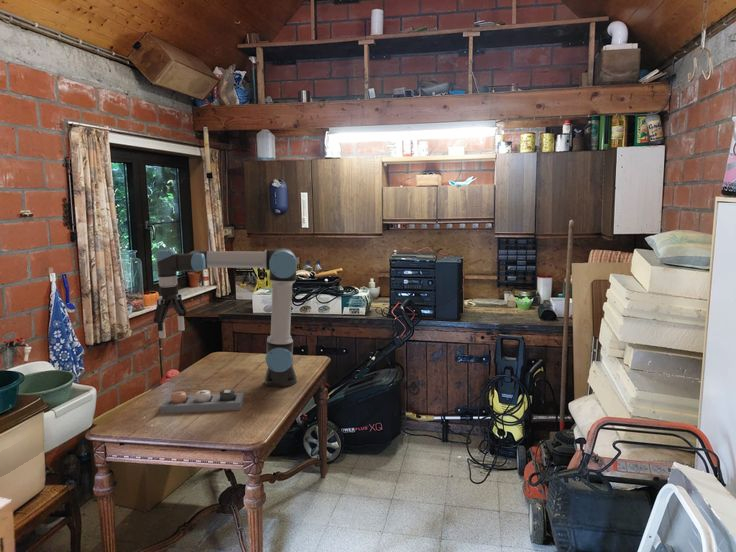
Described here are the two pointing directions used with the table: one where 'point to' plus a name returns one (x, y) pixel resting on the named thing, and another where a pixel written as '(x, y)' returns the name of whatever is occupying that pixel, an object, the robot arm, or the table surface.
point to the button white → (203, 396)
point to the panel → (202, 404)
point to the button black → (227, 395)
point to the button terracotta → (178, 397)
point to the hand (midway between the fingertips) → (172, 334)
